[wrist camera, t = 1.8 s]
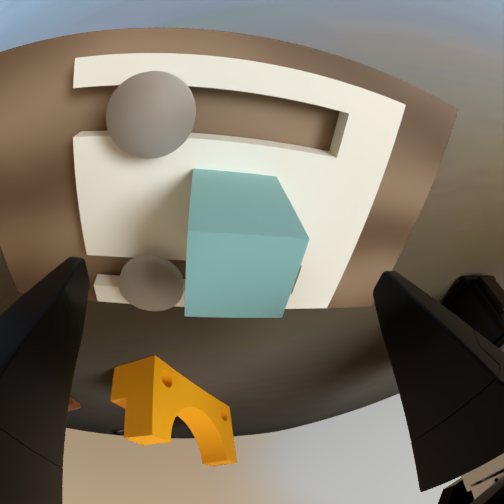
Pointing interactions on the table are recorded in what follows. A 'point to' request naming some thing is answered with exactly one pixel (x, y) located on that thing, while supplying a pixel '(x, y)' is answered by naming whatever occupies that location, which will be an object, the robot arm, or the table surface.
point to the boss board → (216, 113)
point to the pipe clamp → (171, 409)
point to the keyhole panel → (305, 172)
